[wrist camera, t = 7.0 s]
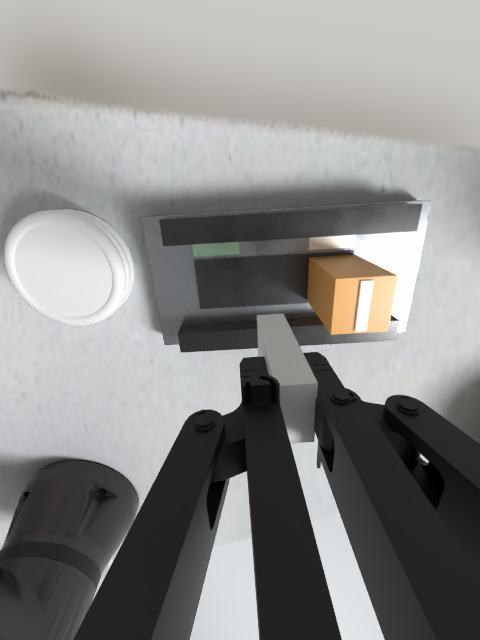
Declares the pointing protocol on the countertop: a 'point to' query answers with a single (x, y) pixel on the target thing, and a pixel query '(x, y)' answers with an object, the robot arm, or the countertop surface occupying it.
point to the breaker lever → (351, 294)
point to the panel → (273, 268)
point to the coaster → (69, 265)
